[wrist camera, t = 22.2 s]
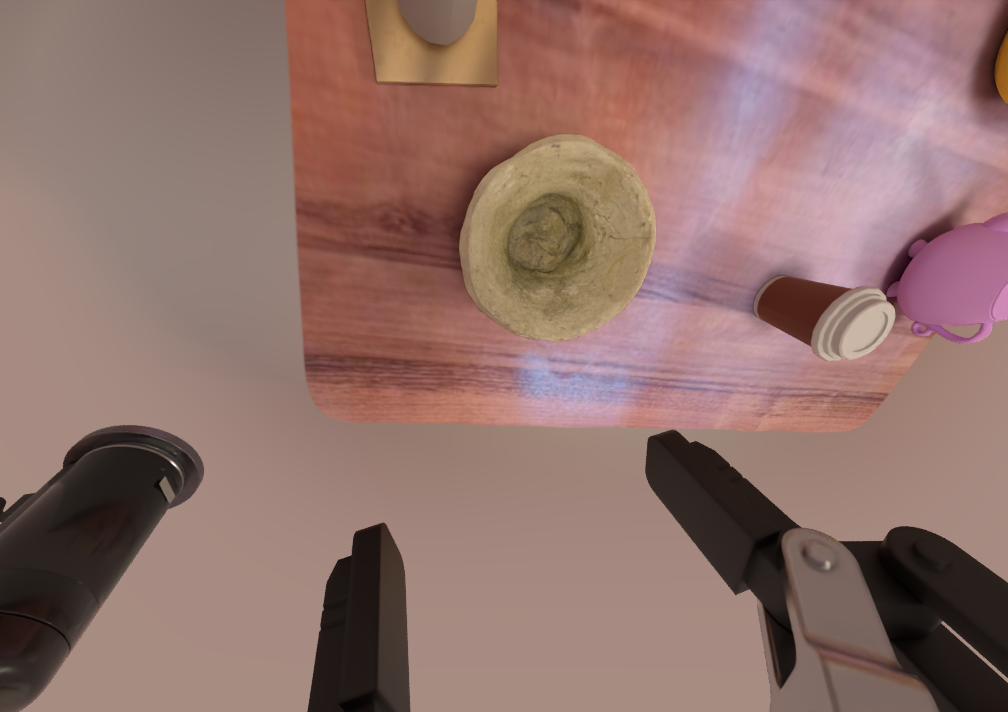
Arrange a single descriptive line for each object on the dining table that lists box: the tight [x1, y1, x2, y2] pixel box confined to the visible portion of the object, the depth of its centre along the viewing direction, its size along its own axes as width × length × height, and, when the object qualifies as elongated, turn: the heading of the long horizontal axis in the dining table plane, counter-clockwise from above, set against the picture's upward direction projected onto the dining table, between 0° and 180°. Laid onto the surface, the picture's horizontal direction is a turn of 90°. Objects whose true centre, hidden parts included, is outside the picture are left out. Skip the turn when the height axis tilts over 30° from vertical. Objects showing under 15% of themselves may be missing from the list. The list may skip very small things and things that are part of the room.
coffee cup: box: [753, 275, 895, 361], centre depth 46 cm, size 9×9×12 cm
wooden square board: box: [365, 0, 498, 87], centre depth 28 cm, size 10×10×1 cm
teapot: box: [886, 212, 1008, 344], centre depth 49 cm, size 20×14×12 cm
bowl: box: [459, 134, 656, 341], centre depth 33 cm, size 14×18×15 cm
